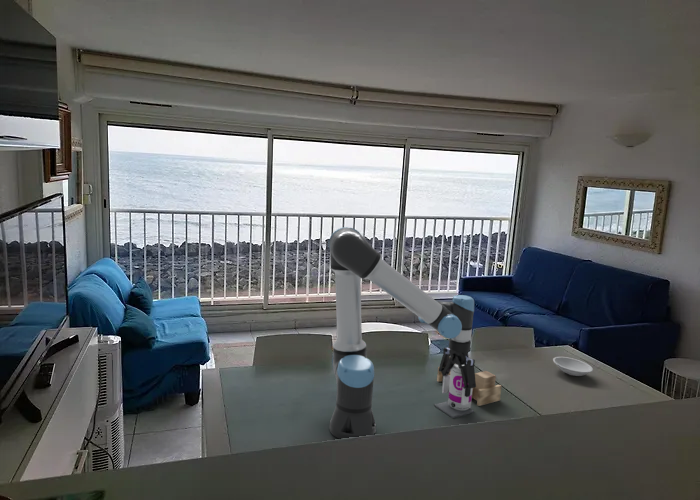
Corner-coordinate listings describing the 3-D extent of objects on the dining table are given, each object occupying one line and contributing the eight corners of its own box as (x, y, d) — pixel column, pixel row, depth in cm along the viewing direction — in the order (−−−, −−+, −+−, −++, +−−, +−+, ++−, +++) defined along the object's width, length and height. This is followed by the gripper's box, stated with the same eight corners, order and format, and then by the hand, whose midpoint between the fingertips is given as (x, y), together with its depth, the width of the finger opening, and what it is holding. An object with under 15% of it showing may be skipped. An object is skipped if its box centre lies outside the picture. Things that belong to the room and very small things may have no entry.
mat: (452, 418, 171) (452, 416, 171) (434, 405, 180) (434, 404, 179) (473, 412, 176) (473, 410, 176) (454, 400, 185) (455, 399, 184)
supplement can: (469, 413, 174) (472, 373, 171) (446, 408, 177) (449, 369, 174) (472, 403, 181) (475, 365, 179) (449, 399, 184) (452, 361, 182)
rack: (478, 405, 181) (481, 380, 180) (436, 380, 202) (438, 357, 200) (500, 400, 187) (502, 375, 185) (457, 376, 207) (459, 354, 206)
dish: (599, 381, 210) (601, 370, 209) (573, 384, 205) (575, 373, 204) (568, 365, 226) (570, 355, 226) (543, 368, 221) (545, 358, 221)
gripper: (491, 347, 166) (484, 409, 170) (447, 328, 185) (442, 384, 188) (474, 350, 162) (468, 413, 166) (431, 330, 181) (427, 387, 185)
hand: (454, 398), depth 177 cm, fingers open, 9 cm apart
